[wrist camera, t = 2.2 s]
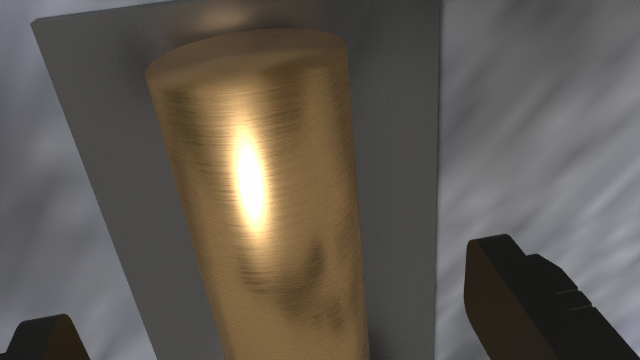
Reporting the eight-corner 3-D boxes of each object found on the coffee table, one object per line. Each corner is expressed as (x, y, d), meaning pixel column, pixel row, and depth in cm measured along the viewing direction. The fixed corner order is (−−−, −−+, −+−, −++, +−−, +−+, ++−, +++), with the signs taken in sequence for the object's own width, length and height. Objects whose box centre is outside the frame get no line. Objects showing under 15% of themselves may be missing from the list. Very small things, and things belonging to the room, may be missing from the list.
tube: (160, 41, 15) (121, 107, 11) (333, 19, 15) (366, 74, 11) (271, 474, 26) (274, 594, 22) (371, 458, 26) (394, 573, 22)
